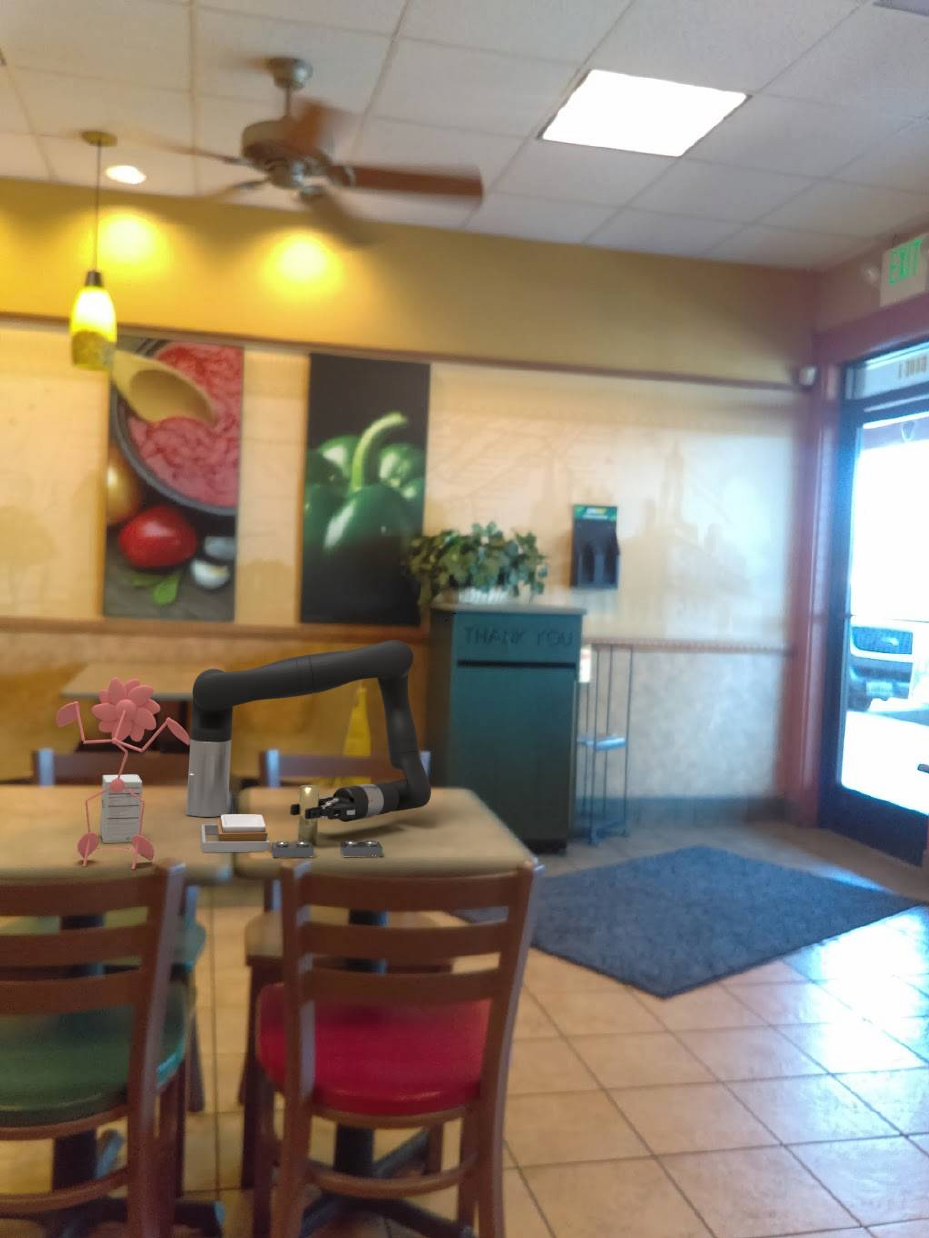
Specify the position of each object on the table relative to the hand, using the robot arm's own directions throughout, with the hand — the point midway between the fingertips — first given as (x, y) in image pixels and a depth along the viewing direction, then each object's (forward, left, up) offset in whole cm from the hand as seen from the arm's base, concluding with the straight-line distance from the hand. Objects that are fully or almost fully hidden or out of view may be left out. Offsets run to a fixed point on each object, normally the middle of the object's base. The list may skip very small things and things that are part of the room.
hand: (299, 812), depth 222 cm
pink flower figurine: (-35, -9, -7) cm, 37 cm away
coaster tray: (-13, +3, -7) cm, 15 cm away
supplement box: (-36, +7, -7) cm, 37 cm away
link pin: (+2, +2, -7) cm, 8 cm away
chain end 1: (-2, -7, -7) cm, 10 cm away
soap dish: (-11, +3, -7) cm, 14 cm away
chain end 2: (+12, -7, -7) cm, 16 cm away
